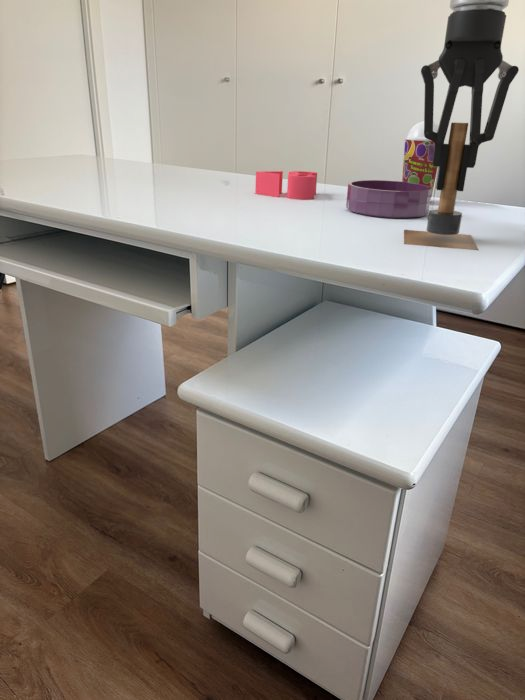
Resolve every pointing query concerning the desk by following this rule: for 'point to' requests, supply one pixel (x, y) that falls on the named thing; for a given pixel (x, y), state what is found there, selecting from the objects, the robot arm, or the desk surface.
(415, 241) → the cork mat
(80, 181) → the desk surface
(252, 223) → the desk surface
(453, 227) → the brush
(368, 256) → the desk surface
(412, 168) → the smoothie
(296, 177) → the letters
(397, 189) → the bowl
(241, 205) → the desk surface
